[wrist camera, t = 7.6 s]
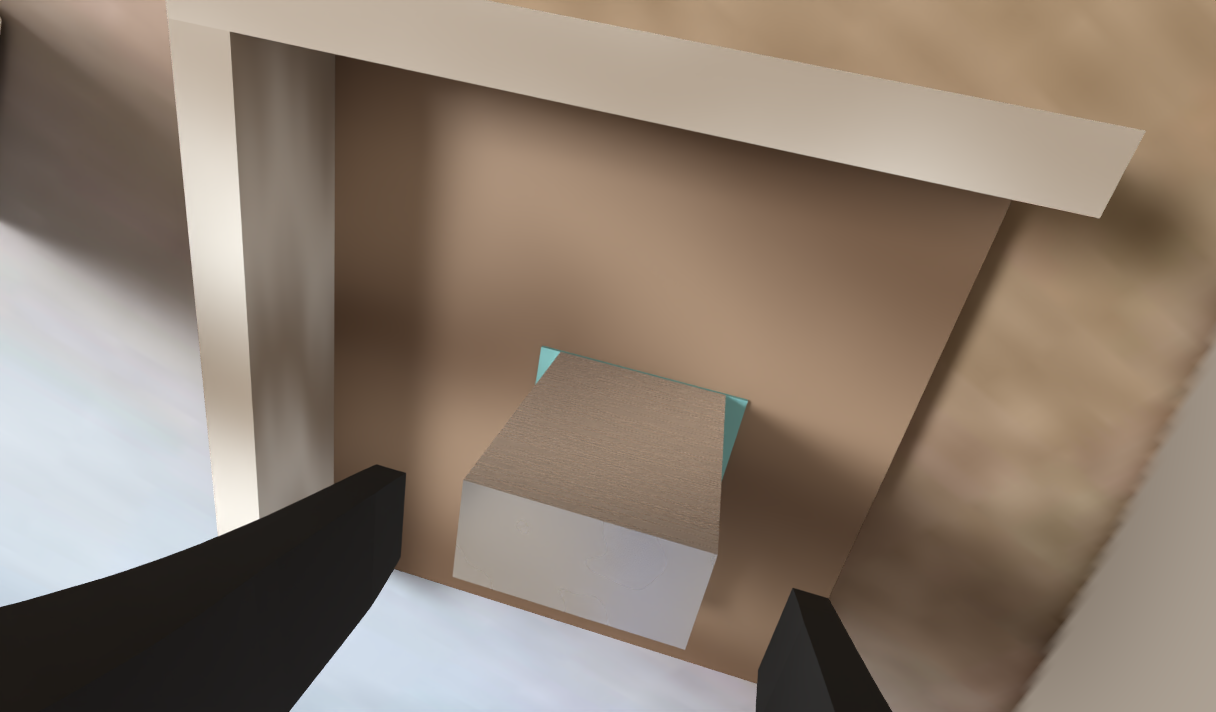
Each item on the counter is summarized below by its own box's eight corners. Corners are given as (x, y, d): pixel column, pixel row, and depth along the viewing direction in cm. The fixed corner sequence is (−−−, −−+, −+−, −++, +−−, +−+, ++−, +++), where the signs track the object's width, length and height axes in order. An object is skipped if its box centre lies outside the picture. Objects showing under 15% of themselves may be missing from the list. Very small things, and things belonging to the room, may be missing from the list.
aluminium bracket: (725, 395, 14) (717, 554, 9) (666, 587, 16) (634, 798, 11) (560, 351, 14) (463, 479, 9) (526, 545, 17) (435, 729, 12)
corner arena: (783, 674, 17) (793, 799, 14) (310, 526, 19) (225, 609, 16) (1030, 126, 11) (1146, 130, 8) (302, -21, 13) (159, -65, 10)
